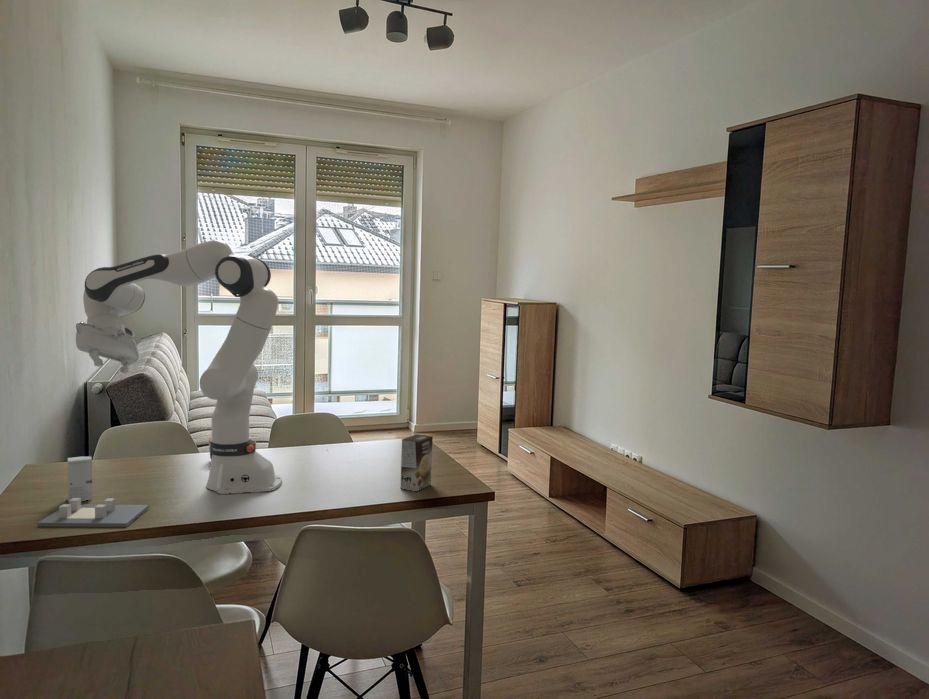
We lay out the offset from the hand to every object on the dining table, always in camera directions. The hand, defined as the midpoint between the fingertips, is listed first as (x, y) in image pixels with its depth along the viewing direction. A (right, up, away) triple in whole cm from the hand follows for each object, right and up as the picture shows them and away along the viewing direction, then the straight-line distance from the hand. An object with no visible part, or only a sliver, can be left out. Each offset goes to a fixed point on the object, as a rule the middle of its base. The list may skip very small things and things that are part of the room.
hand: (112, 369), depth 196 cm
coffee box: (+90, -38, +13) cm, 99 cm away
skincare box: (-5, -37, -8) cm, 39 cm away
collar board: (+7, -39, -21) cm, 45 cm away
